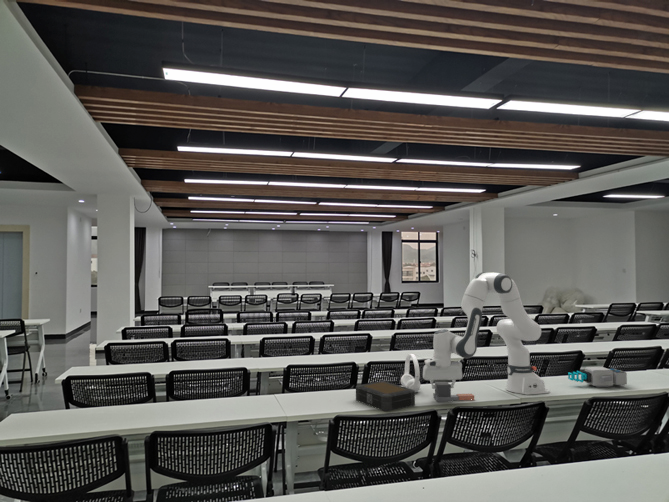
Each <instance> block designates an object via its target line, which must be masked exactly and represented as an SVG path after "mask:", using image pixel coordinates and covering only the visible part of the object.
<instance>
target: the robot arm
mask: <svg viewBox="0 0 669 502" xmlns="http://www.w3.org/2000/svg"><path fill="white" fill-rule="evenodd" d="M490 293H491V294H497V295H498V300H499V304H500V307H501V310H502V311H501V312H502V313H503V314H504V316H506V317H507V318H505V319H500V320H499V321H498V322H497V324H496V327H495V328H496V332H497V334H498V336H500V337H501V338H502V340H503V342H504V344H505V346H506V349H507V358H508V359H507V360H508V361H507V363H508V364H507V382H506V383H507V384H506V387H505V390H506V391H509V392H512V393H515V394H522V395H525V396H528V395H529V396H530V395H539V394H549V393H551V390H550V389H549V388H547V387H546V384H545V382H544V379H543V378H541V377H540V376H539V375H538V374H536V373H535V371H537V366H534V365H533V366H532V365H531V364H530V363H531V361H530V351H529V349H528V348H527V346H525V345H524V344H523V342H522V341H524V342H533V341H534V342H535V341H537V340H539V339H540V337H541V336H542V328H541V326H540V324H538V323H537V322H536V321H535V320H533V319H532V318H531V317H530V316H529V315H528V313H527V311H526V309H525V308H524V305H523V302H522V299H521V294H520V291H519V288H518V286H517V284H516V282H515V280H514V279H512V278H511V277H510V276H509V275H507V274H505V273H500V272H493V271H492V272H486V271H485V272H480V273H478V274H477V275H476V276H475V278H473V279H471V281H469V283H468V285H467V287H466V289H465V291H464V293H463V296H462V299H461V306H460V307H461V309H462V311H463V313H464V314H465V315H466V317H467V325H466V329H465V332H464V335H463V336H461V335H458V334H455V333H453V332H451V331H450V330H449V329H446V328H445V329H443V328H442V329H438V330H436V331H435V332H434V334H433V341H432V342H433V344H432V348H433V357H429V358H427V359H424V364H425V365H423V368H422V378H423V380H425V381H429V382H430V384H431V389H433V390H435V389H436V385H435V383H434V381H446V380H447V381H451V383H449V384H450V385H451V389H455V388H454V386H455V383H456V382H457V381H456V380H462V379H463V369H462V368H463V364H462V362H461V361H459V360H452V354H454V355H457V356H459V357H461V358H463V359H470V358H472V357H474V356H475V354H476V353H477V351H478V350H477V348H478V346H477V343H478V338H479V337H478V335H479V332H480V328H481V324H482V319H483V308H484V304H485V302H486V298H487V295H488V294H490Z"/></svg>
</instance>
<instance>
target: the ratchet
mask: <svg viewBox="0 0 669 502" xmlns="http://www.w3.org/2000/svg"><path fill="white" fill-rule="evenodd" d="M432 395H433V397H432V398H433V399H434V400H435V401H436V402H437V403H449V402H448V401H452V400H470V401H475V395H474V394H473V393H457V394H451V397H438V396H437V395H436V394H435V392H434V393H433V394H432ZM471 399H472V400H471ZM452 402H453V401H452Z"/></svg>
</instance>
